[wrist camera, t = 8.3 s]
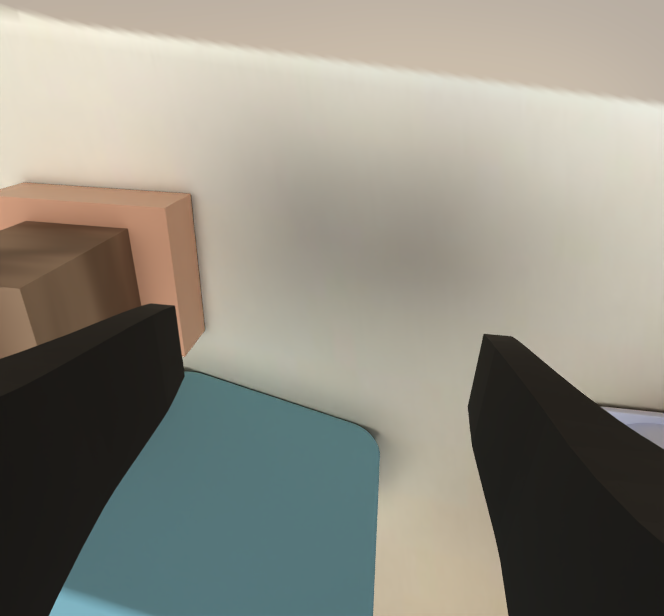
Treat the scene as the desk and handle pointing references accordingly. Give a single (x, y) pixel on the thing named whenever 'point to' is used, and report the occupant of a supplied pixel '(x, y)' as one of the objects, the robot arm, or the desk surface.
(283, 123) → the desk surface
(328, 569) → the teal rounded block
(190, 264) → the terracotta plinth
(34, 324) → the walnut block
